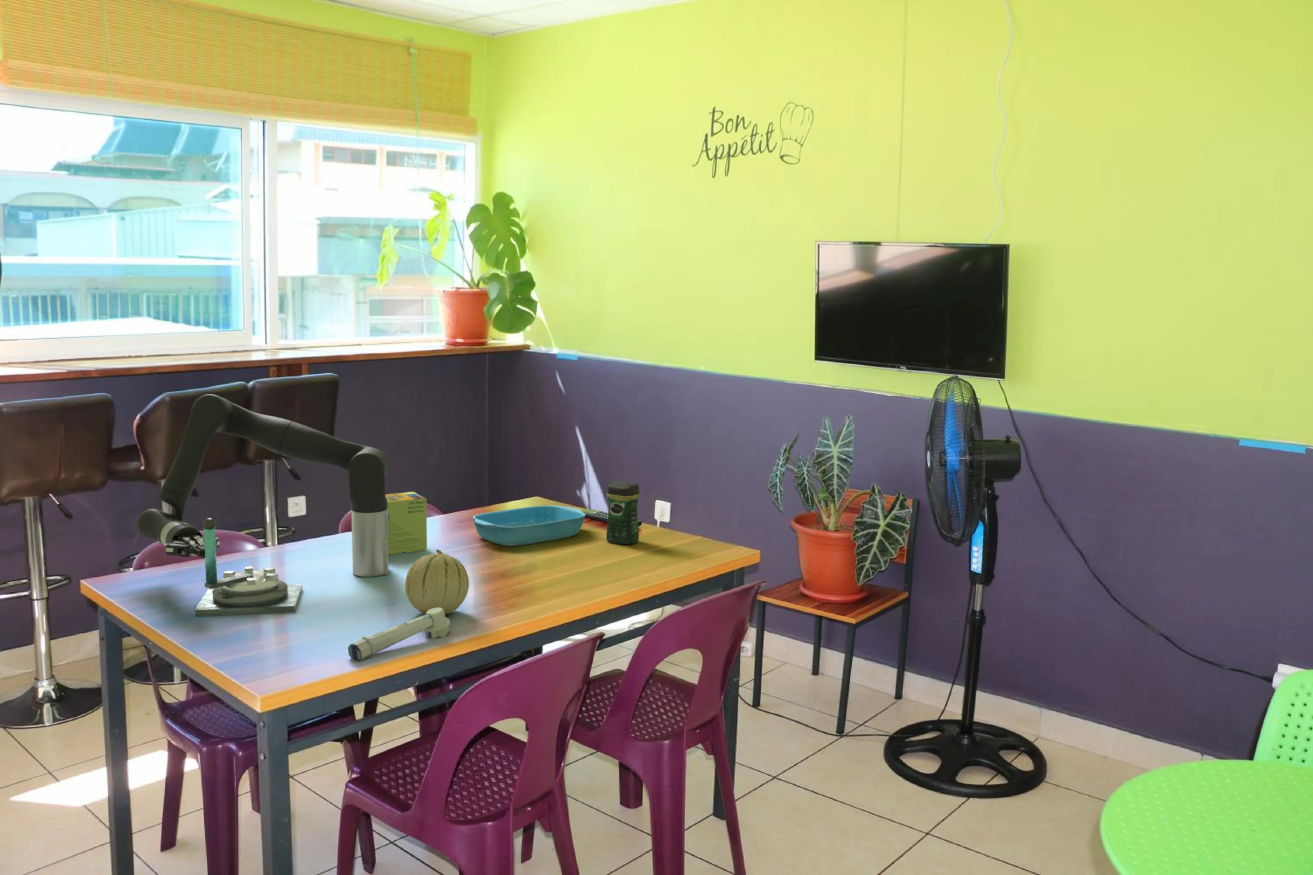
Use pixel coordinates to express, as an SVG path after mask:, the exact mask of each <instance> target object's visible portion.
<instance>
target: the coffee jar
mask: <svg viewBox="0 0 1313 875" xmlns="http://www.w3.org/2000/svg"><path fill="white" fill-rule="evenodd" d="M640 494H641V493H640V487H639V484H638V483H637V482H630V481H624V480H614V481H610V482H608V485H607V490H606V498H607V503H608V509H607V510H608V511H607V512H608V513H607V522H606V534H605V536H606V538H605V539H606V541H607V542H609V543H612V542H613V544H618V543H619V544H620V545H629V544H633V545H634V544H636V543H637V542H638V541H639V540H640V532H639V519H638V518H639V517H638V501H639V498H640ZM619 544H618V545H619Z"/></svg>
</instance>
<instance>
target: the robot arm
mask: <svg viewBox="0 0 1313 875" xmlns="http://www.w3.org/2000/svg"><path fill="white" fill-rule="evenodd" d="M216 432H217V433H223V434H227V435H231V436H235V437H238V438H242V439H246V440H249V441H250V442H253V443H254V444H256V445H258V446H259V447H262V448H264V449H266V450H269V452H270V451H271V452H273V453H275V454H277V455H281V456H284V457H287V458H290V459H293V460H297V461H300V462H305V463H312V464H321V465H329V466H333V467H336V468H340V469H341V470H342V469H343V470H345V471H347V472H348V492H349V493H348V494H349V495H348V496H349V502H350V503H351V504H350V506H351V543H352V544H351V548H352V552H351V553H352V554H351V556H352V574H353V575H355V576H357V577H379V576H383V575H385V576H386V575H389V569H390V568H389V566H390V564H389V558H390V557H389V555H388V516H387V499H386V496H385V495H386V488H385V487H386V484H385V482H386V481H385V480H386V479H385V477H386V476H387V474H388V472H389V469H390V461H389V459H388V456H387V455H386V454H385V453H384V452H383V451H382V450H380V449H378V448H376V447H372V446H369V445H367V446H366V445H363V444H359V443H355V442H350V441H347V440H343V439H340V438H337V437H335V436H332V435H330V434H329V433H326V432H323V431H320V430H317V429H315V428H312V427H310V426H307V425H305V424H301V423H298V422H296V421H293V420H289V419H285V418H282V417H277V416H273V415H268V414H267V415H266V414H262V413H257V412H255V411H251V410H249V409H247V408H245V407H242V406H240V405H238V404H236V403H234V402H231V401H229V400H228V399H226V398H224V397H222V396H219V395H217V394H210V393H209V394H207V393H206V394H204V395H201V396H199V397H198V398H196V399H195V401H194V402H193V404H192V407H191V410H190V414H189V417H188V421H187V424H186V429H185V431H184V434H183V437H182V441H181V443H180V445H179V448H178V451H177V452H176V456H175V458H174V460H173V462H172V465H171V467H170V470H169V472H168V473H167V475H166V478H165V480H164V482H163V484H162V487H161V488H160V491H159V493H158V498H159V499H160V500H161V501H162V502H164V503H165V504H167V505H169V506H170V507H171V513H168V512H165V511H162V510H159V509H156V508H149V509H146V510H144V511H143V512H142V513H140V515H139V516H138V519H137V523H136V524H137V529H138V532H139V533H140V534H141V535H142V536H145V537H147V538H149V539H152V540H154V541H158V543H160V544H162V545H163V546H165V555H168V556H178V557H180V558H190V557H192V556H194V557H199V558H201V559H205V544H204V535H203V534H202V533H201V531H200V530H199V529H197V528H196V527H194V526H192V525H191V524H189V523H187V522H184V521H185V520H184V519H185V514H186V508H187V504H188V501H189V499H190V497H191V494H192V492H193V491H194V488H195V486H196V484H197V481H198V478H199V475H200V473H201V468H202V464H203V459H204V456H205V453H206V451H207V448H208V446H209V444H210V442H211V440H212V438H213V437H214V435H215V433H216ZM215 539H216V551H217V550H218V549H219V548H220V537H218V536H215Z"/></svg>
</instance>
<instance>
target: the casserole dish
mask: <svg viewBox="0 0 1313 875" xmlns="http://www.w3.org/2000/svg"><path fill="white" fill-rule="evenodd" d="M585 517H586V512H585V513H584V512H583V510H581V509H578V508H575V507H571V506H570V507H569V506H562V505H555V504H553V505H552V504H548V505H546V504H544V505H543V504H542V505H533V506H525V507H518V508H509V509H504V510H497V511H496V510H495V511H490V512H489V511H488V512H484V513H478V514H475V515H473V517H472V519H473V522H474V526H475V529H476V532H477V534H478V535H479V537H481V538H482V539H483V540H485V541H489V542H490V541H491V543H494V544H497V545H501V546H503V547H516V546H526V545H530V544H531V545H532V544H537V543H543V542H549V541H556V540H561V539H567V538H571V537H574V536H575V535H577V534H579V532H580V530H581V528H582V526H583V524H584V520H585Z"/></svg>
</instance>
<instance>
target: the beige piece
mask: <svg viewBox="0 0 1313 875" xmlns="http://www.w3.org/2000/svg"><path fill="white" fill-rule="evenodd" d="M450 620H451V619H450V618H449V617H446V614H445V613H444V610H443V609H442V608H440V607H437V608H432V609H430V610H428V611H427V613H426V614H423V615H421V616H418V617H415V618H412V619H410V620H408V621H405V622H403V623H400V624H398V625H395V626H392V627H388V628H387V629H384V630H381V631H379V632H376V633H374V634H371V635H368V636H365V635H364V636H362V637H361V639H359V640H356V641H355V642H352V643H351V644H349V645H348V647H347V651H348V656H349V658H350V659H351V660H353V661H356V662H360V661H362V660H365V659H367V658H373V656H374V655H375V654H378V653H379V652H382V651H384V650H386V649H389V648H390V647H392V646H394V645H396V644H398V643H400V642H402V641H405V640H407V639H409V638H411V637H413V636H415V635H417V634H419V633H422V632H423V631H424V632H425V637H426V638H428V639H436V638H439V637H440V638H444V637H445V636H447V635H448V633H450V627H449V626H450V625H451V621H450Z"/></svg>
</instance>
